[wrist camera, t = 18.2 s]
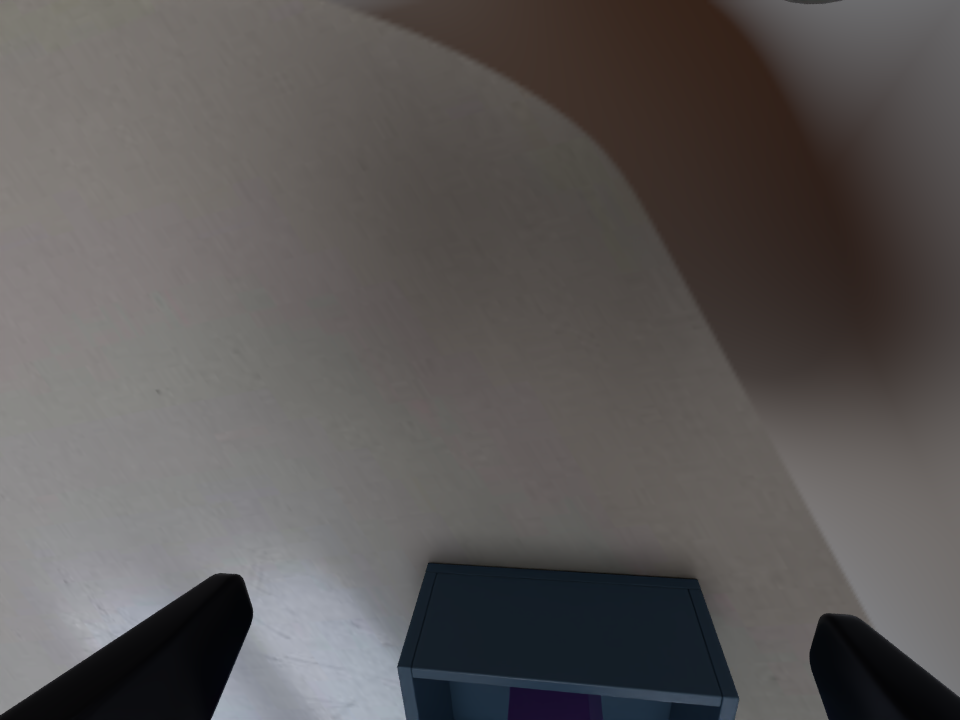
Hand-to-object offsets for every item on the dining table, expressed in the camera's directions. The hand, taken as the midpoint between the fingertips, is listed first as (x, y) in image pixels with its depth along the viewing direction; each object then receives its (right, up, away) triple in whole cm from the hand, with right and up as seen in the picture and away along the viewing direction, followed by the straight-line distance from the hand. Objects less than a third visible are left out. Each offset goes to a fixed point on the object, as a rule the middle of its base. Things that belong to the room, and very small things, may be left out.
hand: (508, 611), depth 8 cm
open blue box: (+4, -13, +19) cm, 23 cm away
